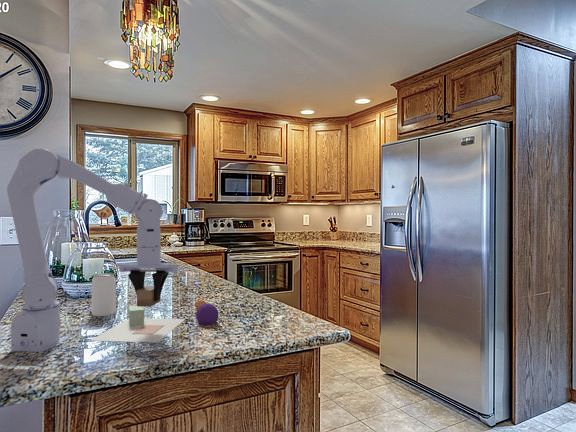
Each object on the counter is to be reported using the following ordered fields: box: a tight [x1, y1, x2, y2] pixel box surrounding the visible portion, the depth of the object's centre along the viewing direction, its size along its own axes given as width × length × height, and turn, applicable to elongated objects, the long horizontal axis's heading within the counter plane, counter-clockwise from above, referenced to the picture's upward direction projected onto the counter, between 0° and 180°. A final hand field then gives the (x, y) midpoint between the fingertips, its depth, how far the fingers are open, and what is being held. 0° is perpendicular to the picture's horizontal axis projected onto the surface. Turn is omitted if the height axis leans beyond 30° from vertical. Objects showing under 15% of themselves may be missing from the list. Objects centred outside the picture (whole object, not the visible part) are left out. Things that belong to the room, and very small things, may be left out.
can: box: [91, 272, 117, 317], centre depth 119 cm, size 6×6×12 cm
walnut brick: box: [136, 285, 161, 308], centre depth 103 cm, size 6×4×4 cm, turn 177°
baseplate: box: [89, 317, 186, 343], centre depth 103 cm, size 20×16×1 cm
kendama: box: [195, 300, 219, 326], centre depth 116 cm, size 6×6×20 cm
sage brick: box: [128, 304, 145, 326], centre depth 109 cm, size 6×4×4 cm, turn 23°
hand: (148, 300), depth 103 cm, fingers closed on walnut brick, 4 cm apart
